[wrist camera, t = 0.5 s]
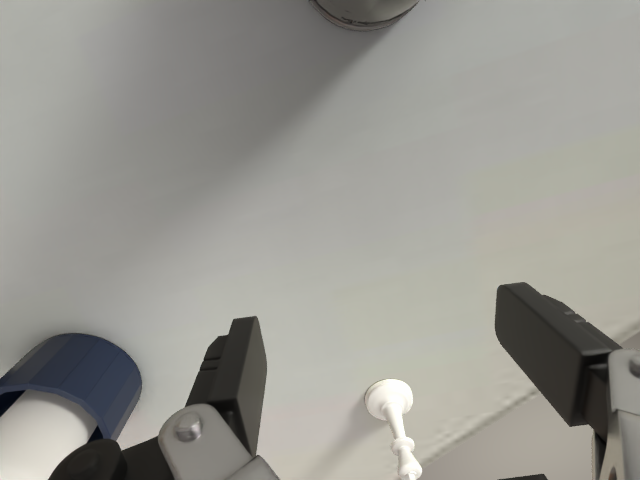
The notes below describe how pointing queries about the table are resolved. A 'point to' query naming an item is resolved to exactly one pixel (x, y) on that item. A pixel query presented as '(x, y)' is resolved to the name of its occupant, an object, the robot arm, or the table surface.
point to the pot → (79, 379)
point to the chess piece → (395, 421)
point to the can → (40, 434)
